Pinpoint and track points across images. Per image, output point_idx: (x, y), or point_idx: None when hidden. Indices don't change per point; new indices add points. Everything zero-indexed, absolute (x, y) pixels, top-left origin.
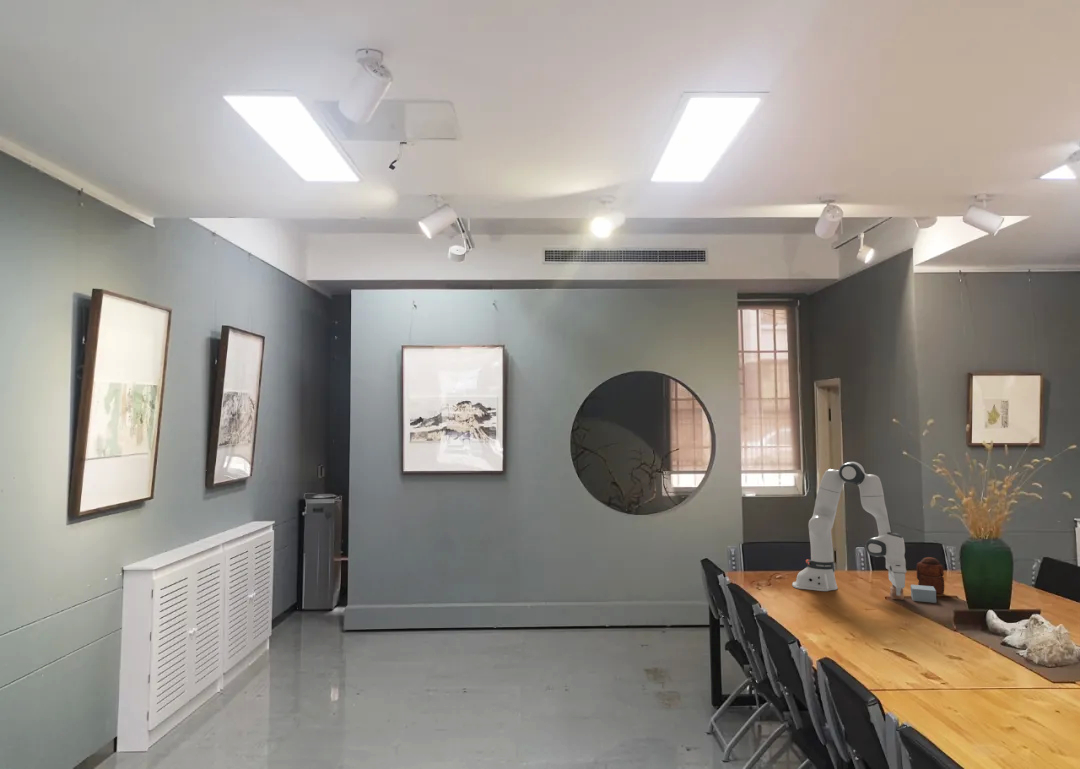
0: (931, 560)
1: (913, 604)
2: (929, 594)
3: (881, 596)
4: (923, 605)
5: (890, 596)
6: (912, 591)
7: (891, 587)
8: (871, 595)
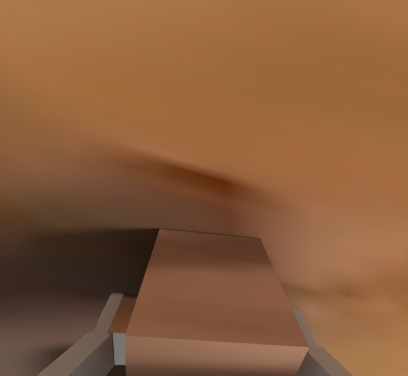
0: None
1: (6, 321)
2: None
3: (254, 151)
4: (10, 363)
5: (256, 238)
6: None
7: (223, 348)
8: (303, 26)
